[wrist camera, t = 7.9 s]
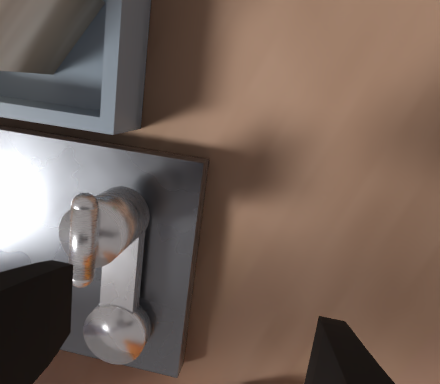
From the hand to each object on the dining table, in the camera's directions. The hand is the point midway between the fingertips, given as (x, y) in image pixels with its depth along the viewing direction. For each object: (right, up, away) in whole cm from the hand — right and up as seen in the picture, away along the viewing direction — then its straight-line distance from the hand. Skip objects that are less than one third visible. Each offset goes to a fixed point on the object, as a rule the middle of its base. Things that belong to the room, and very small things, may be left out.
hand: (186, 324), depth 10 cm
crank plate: (-6, +1, +11) cm, 13 cm away
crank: (-4, 0, +9) cm, 10 cm away
